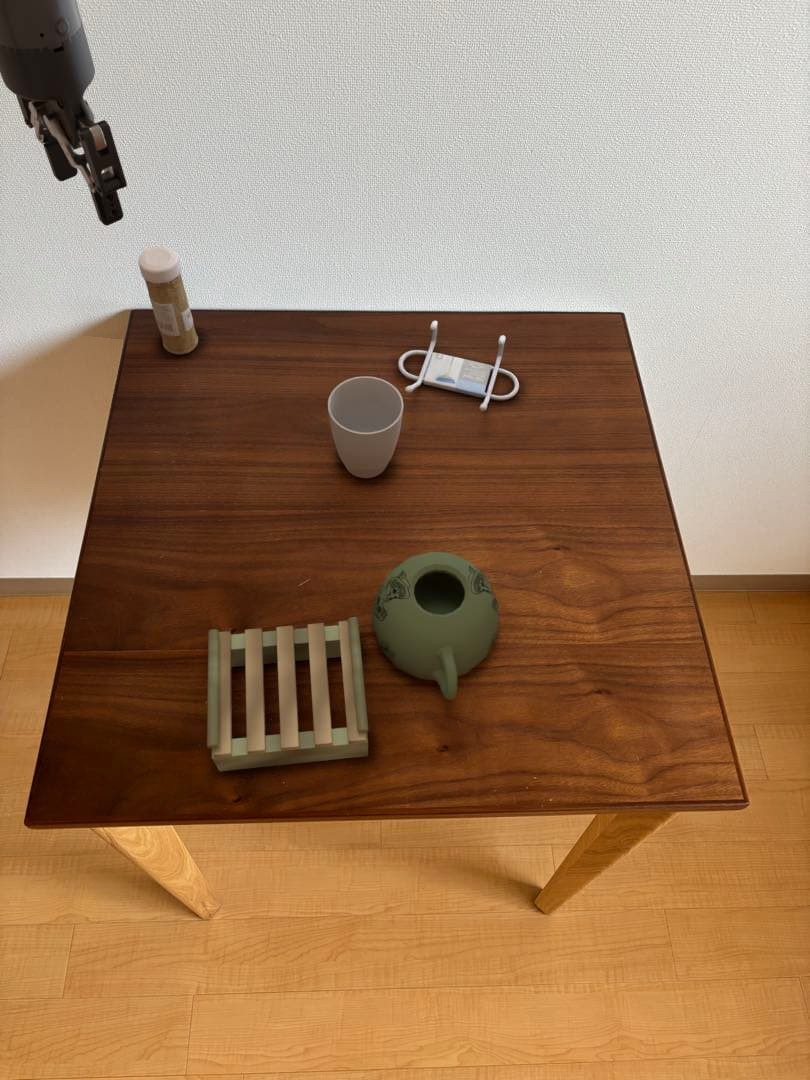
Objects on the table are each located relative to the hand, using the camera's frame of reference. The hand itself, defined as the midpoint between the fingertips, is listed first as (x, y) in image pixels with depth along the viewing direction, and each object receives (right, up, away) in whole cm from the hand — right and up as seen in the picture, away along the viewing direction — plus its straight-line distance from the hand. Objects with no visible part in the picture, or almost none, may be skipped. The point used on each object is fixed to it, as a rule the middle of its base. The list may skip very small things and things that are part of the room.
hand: (89, 198), depth 79 cm
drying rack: (+19, -49, +1) cm, 53 cm away
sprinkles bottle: (+2, -8, +26) cm, 27 cm away
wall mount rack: (+37, -15, +23) cm, 46 cm away
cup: (+26, -24, +17) cm, 39 cm away
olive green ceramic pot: (+34, -44, +5) cm, 56 cm away
